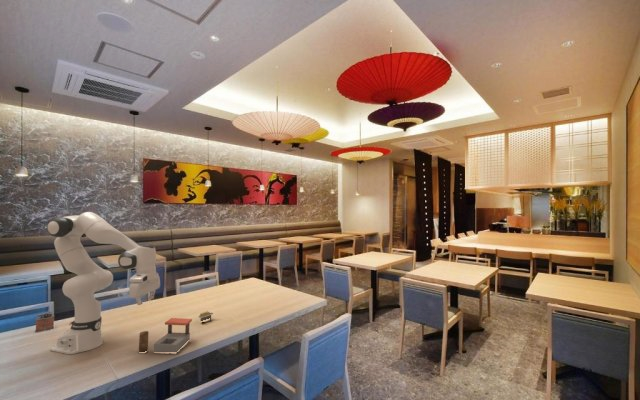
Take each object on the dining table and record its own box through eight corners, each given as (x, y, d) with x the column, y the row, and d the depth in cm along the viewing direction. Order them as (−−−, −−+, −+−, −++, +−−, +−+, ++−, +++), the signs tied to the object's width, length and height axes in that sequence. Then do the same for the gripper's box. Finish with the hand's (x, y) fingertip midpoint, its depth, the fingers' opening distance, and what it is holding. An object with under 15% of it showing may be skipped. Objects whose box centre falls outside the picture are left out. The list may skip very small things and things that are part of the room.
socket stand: (153, 353, 148) (154, 329, 148) (170, 339, 164) (171, 318, 164) (176, 354, 147) (177, 330, 148) (191, 340, 163) (192, 318, 164)
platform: (187, 324, 186) (187, 314, 187) (211, 316, 201) (211, 306, 202) (198, 329, 180) (198, 318, 180) (222, 320, 195) (222, 310, 195)
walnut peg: (136, 354, 147) (137, 334, 147) (142, 350, 151) (142, 330, 151) (144, 354, 147) (145, 334, 147) (149, 350, 151) (150, 331, 151)
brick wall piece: (53, 327, 177) (54, 310, 177) (53, 329, 174) (54, 312, 175) (35, 330, 171) (36, 313, 172) (35, 332, 169) (36, 315, 169)
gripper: (152, 271, 162) (152, 295, 161) (126, 279, 141) (126, 308, 141) (163, 271, 162) (163, 295, 161) (139, 279, 141) (138, 308, 141)
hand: (145, 301), depth 151 cm, fingers open, 8 cm apart
